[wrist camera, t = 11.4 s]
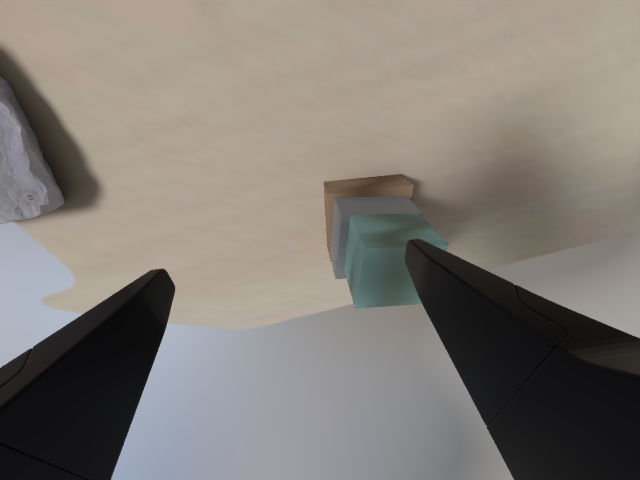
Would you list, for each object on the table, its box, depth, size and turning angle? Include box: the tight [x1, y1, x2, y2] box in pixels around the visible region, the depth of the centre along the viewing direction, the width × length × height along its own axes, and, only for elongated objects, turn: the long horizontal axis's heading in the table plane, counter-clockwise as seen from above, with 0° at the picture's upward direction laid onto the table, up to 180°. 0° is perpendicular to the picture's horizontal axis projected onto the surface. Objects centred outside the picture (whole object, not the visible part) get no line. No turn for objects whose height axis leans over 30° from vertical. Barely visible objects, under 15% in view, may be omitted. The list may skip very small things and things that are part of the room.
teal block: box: [344, 213, 448, 308], centre depth 17 cm, size 5×5×4 cm
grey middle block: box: [331, 196, 423, 279], centre depth 20 cm, size 6×6×3 cm
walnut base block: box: [324, 174, 414, 262], centre depth 22 cm, size 7×7×3 cm
